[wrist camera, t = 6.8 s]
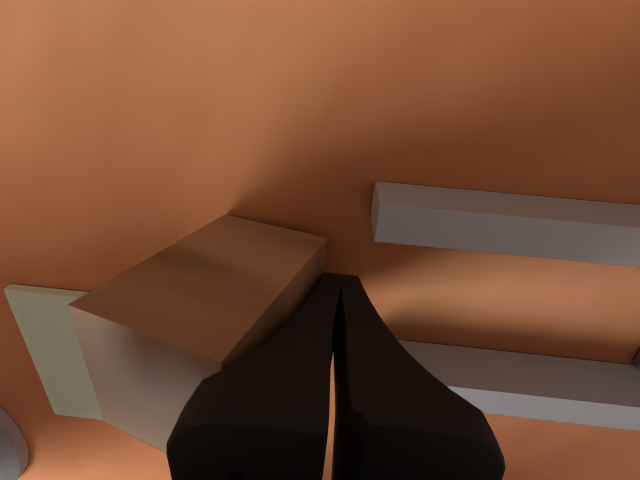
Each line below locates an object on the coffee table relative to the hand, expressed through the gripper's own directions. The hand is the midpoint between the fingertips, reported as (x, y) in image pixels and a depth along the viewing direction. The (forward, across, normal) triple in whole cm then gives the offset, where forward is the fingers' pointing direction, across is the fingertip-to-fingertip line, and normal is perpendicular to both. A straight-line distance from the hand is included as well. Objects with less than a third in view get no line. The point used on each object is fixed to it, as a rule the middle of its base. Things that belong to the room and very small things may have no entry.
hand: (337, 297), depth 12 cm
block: (+1, +2, 0) cm, 3 cm away
